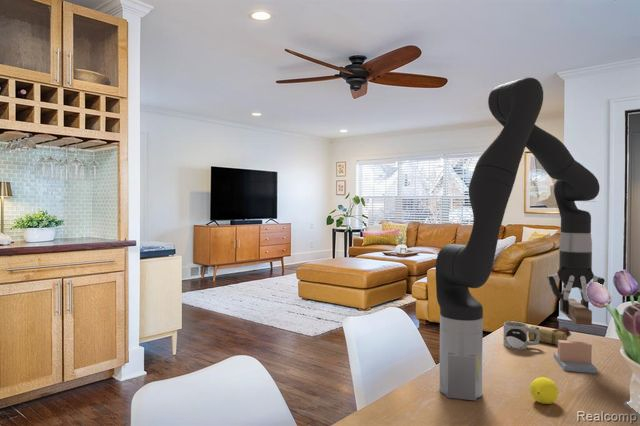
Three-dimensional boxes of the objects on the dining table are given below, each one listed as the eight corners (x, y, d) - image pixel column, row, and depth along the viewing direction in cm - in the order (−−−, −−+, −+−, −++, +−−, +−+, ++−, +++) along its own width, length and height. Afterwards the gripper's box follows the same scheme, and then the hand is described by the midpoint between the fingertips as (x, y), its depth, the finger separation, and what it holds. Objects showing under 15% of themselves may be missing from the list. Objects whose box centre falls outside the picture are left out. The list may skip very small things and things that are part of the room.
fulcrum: (596, 373, 113) (597, 349, 113) (564, 370, 115) (564, 347, 115) (583, 359, 124) (583, 337, 124) (553, 356, 126) (554, 335, 126)
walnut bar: (591, 325, 111) (591, 311, 111) (576, 324, 112) (576, 310, 112) (573, 311, 127) (573, 298, 127) (559, 310, 128) (559, 298, 128)
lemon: (535, 397, 100) (537, 372, 101) (562, 404, 96) (563, 379, 97) (523, 402, 95) (525, 376, 96) (551, 410, 91) (552, 383, 92)
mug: (504, 348, 133) (505, 326, 133) (502, 342, 140) (502, 321, 140) (541, 351, 131) (541, 329, 130) (537, 345, 137) (537, 323, 137)
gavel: (553, 320, 156) (585, 325, 149) (552, 333, 156) (584, 339, 149) (528, 326, 142) (562, 333, 135) (527, 341, 142) (561, 348, 134)
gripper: (549, 250, 118) (548, 315, 118) (610, 251, 114) (609, 319, 114) (543, 247, 125) (542, 309, 125) (600, 249, 121) (599, 312, 121)
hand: (574, 313), depth 120 cm, fingers closed on walnut bar, 3 cm apart
